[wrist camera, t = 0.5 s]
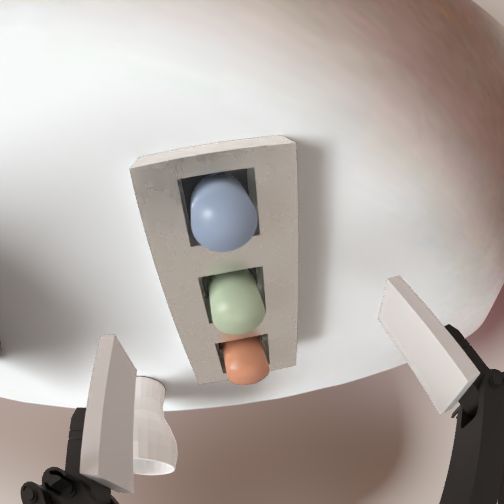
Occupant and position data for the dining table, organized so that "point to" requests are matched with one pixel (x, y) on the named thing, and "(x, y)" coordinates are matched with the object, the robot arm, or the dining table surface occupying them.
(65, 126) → the dining table surface
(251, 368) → the button terracotta
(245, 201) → the button slate
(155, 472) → the cup
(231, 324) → the button sage
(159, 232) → the panel
